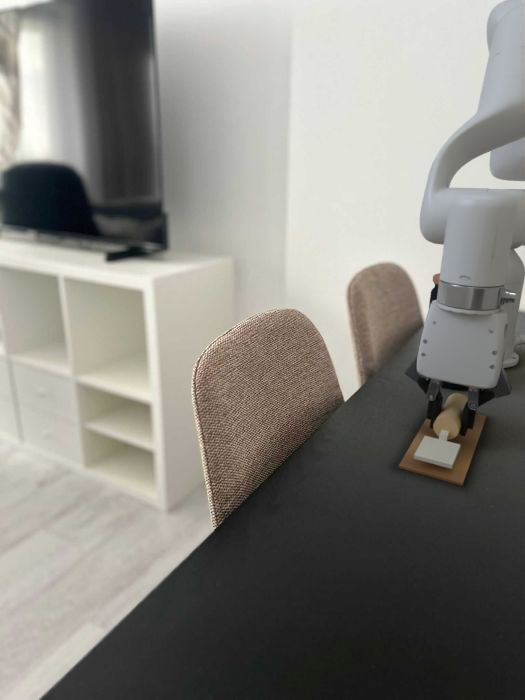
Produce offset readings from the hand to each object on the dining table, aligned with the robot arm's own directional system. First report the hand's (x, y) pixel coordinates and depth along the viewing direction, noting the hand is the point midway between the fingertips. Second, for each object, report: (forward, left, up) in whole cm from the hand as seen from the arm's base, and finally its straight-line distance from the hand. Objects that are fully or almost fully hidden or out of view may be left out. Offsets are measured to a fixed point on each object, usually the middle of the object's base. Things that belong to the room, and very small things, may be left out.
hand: (449, 427), depth 69 cm
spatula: (+2, +1, 0) cm, 2 cm away
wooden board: (+1, 0, -2) cm, 2 cm away
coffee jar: (-16, -16, -2) cm, 23 cm away
